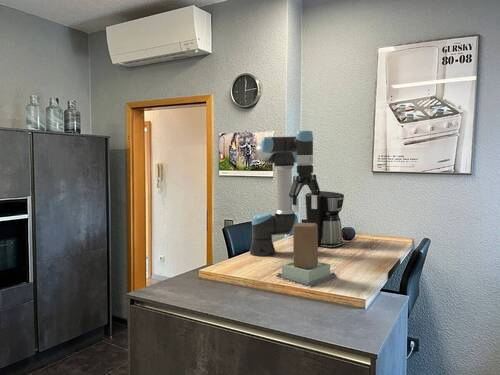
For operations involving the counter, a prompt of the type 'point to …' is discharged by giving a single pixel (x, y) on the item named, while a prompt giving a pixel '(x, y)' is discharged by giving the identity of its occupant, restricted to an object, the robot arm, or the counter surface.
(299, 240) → the block
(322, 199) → the coffee maker
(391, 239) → the counter surface
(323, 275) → the plate
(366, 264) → the counter surface
